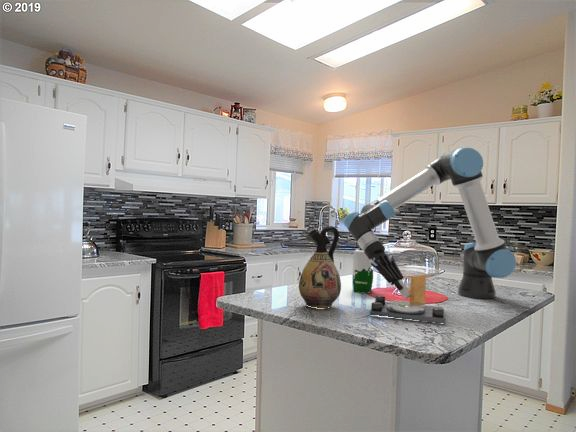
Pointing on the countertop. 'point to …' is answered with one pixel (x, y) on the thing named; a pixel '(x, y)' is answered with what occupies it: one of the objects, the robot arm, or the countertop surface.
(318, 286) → the ceramic jug
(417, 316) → the tribrach plate
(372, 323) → the countertop surface
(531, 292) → the countertop surface
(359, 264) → the milk carton
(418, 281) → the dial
